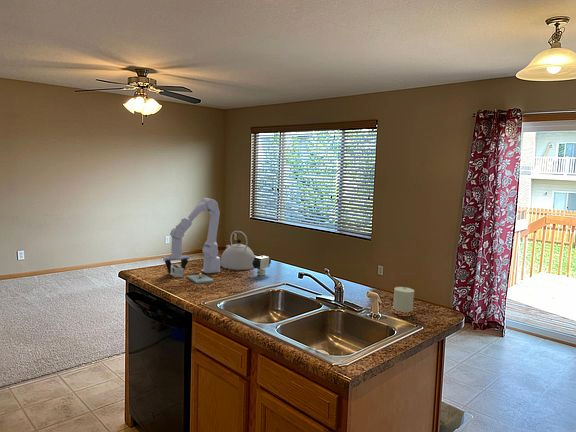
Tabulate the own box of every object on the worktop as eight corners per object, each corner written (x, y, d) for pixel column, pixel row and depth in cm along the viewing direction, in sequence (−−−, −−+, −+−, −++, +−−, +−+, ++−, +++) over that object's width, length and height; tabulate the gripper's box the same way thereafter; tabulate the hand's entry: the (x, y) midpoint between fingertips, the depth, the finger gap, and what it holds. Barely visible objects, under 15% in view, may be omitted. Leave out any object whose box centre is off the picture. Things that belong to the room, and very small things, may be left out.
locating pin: (201, 277, 241) (201, 273, 241) (202, 278, 240) (202, 273, 240) (198, 277, 240) (198, 273, 240) (199, 278, 239) (199, 273, 239)
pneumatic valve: (270, 274, 261) (271, 254, 260) (257, 277, 252) (258, 257, 251) (263, 272, 264) (264, 253, 263) (250, 275, 255) (251, 255, 254)
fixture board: (203, 275, 249) (203, 274, 249) (213, 281, 237) (213, 280, 237) (187, 277, 243) (187, 275, 243) (196, 283, 232) (196, 281, 231)
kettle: (211, 263, 282) (212, 228, 279) (239, 259, 297) (241, 227, 294) (233, 271, 263) (235, 234, 261) (262, 267, 279) (264, 232, 276)
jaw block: (177, 272, 252) (177, 264, 252) (183, 276, 244) (183, 268, 243) (168, 273, 249) (168, 264, 249) (174, 277, 241) (174, 268, 241)
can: (411, 311, 206) (414, 287, 205) (412, 317, 197) (415, 292, 196) (392, 309, 208) (394, 284, 207) (392, 315, 199) (394, 289, 198)
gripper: (166, 251, 238) (165, 275, 239) (191, 249, 246) (190, 273, 247) (162, 248, 243) (161, 272, 245) (187, 247, 252) (186, 270, 253)
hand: (175, 272), depth 247 cm, fingers open, 7 cm apart
